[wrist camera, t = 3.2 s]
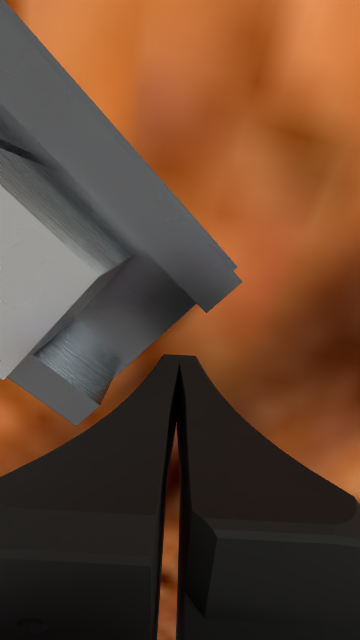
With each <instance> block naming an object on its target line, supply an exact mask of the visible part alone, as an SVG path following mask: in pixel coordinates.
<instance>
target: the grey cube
mask: <svg viewBox="0 0 360 640" xmlns="http://www.w3.org/2000/svg"><path fill="white" fill-rule="evenodd" d="M132 256H133V254H132V253H131V252H130V251H129V250H128V249H127V248H126V247H125V246H124V245H123V244H122V243H121V242H120V241H119V240H118V239H117V238H116V237H115V236H114V235H113V234H112V233H111V232H110V231H109V230H108V229H107V228H106V227H105V226H104V225H103V224H102V223H101V222H100V221H99V220H98V219H97V218H96V217H95V216H94V215H93V214H92V213H91V212H90V211H89V210H88V209H87V208H86V207H85V206H84V205H83V204H82V203H81V202H80V201H79V200H78V199H77V198H76V197H75V196H74V195H73V194H72V193H71V192H70V191H69V190H68V189H67V188H66V187H65V186H64V185H63V184H62V183H61V182H60V181H59V180H58V179H57V178H56V177H55V176H54V175H53V174H52V173H51V172H50V171H49V170H48V169H47V168H46V167H45V166H43V165H41V164H38V163H36V162H33V161H31V160H28V159H26V158H24V157H21V156H19V155H16V154H14V153H11V152H9V151H6V150H4V149H2V148H0V378H1V379H2V380H4V379H6V378H7V377H8V376H9V375H10V374H11V373H13V372H14V371H15V370H16V369H17V368H18V367H20V366H21V365H22V364H23V363H24V362H25V361H27V360H28V359H29V358H30V357H31V356H32V355H33V354H35V353H36V352H37V351H38V350H39V349H40V348H42V347H43V346H44V345H45V344H46V343H47V342H49V341H50V340H51V339H52V338H53V337H54V336H56V335H57V334H58V333H59V332H60V331H61V330H63V329H64V328H65V327H66V326H67V325H68V324H70V322H71V321H72V320H73V319H74V318H75V317H76V316H77V315H78V314H79V313H80V312H81V311H82V310H83V309H84V308H85V306H86V305H87V304H88V303H89V302H90V301H91V300H92V299H93V298H94V297H95V296H96V295H97V294H98V293H99V292H100V291H101V289H102V288H103V287H104V286H105V285H106V284H107V283H108V282H109V281H110V280H111V279H112V278H113V277H114V276H115V275H116V274H117V272H118V271H119V270H120V269H121V268H122V267H123V266H124V265H125V264H126V263H127V262H128V261H129V260H130V259H131V258H132Z"/></svg>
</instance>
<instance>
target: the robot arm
mask: <svg viewBox="0 0 360 640" xmlns="http://www.w3.org/2000/svg"><path fill="white" fill-rule="evenodd" d="M176 421H177V438H178V455H179V472H180V514H179V552H178V588H177V623H176V640H360V505H359V503H358V502H357V500H356V499H355V497H354V496H352V495H350V494H349V493H347V492H346V491H344V490H342V489H341V488H339V487H337V486H336V485H334V484H332V483H331V482H329V481H328V480H326V479H324V478H323V477H321V476H319V475H318V474H316V473H314V472H313V471H311V470H310V469H308V468H307V467H305V466H304V465H302V464H301V463H299V462H298V461H296V460H295V459H293V458H292V457H291V456H289V455H288V454H286V453H285V452H283V451H282V450H281V449H279V448H278V447H277V446H275V445H274V444H273V443H271V442H270V441H269V440H268V439H266V438H265V437H264V436H263V435H262V434H260V433H259V432H258V431H257V430H256V429H254V428H253V427H252V426H251V425H250V424H249V423H248V422H246V421H245V420H244V419H243V418H242V417H241V416H240V415H239V414H238V413H237V412H236V411H235V410H234V409H233V408H232V407H231V405H230V404H229V403H228V402H227V401H226V400H225V398H224V397H223V396H222V395H221V394H220V392H219V391H218V390H217V389H216V387H215V386H214V384H213V383H212V382H211V380H210V379H209V377H208V376H207V374H206V373H205V371H204V370H203V368H202V366H201V364H200V363H199V361H198V359H197V358H196V356H186V355H166V354H164V355H163V356H162V357H161V359H160V360H159V362H158V364H157V365H156V366H155V368H154V369H153V370H152V372H151V373H150V374H149V375H148V377H147V378H146V379H145V380H144V381H143V382H142V384H141V385H140V386H139V387H138V388H137V389H136V390H135V391H134V392H133V393H132V394H131V395H130V396H129V397H128V398H127V399H126V400H125V401H124V402H123V403H122V404H120V405H119V406H118V407H117V408H116V409H115V410H113V411H112V412H111V413H110V414H108V415H107V416H106V417H104V418H103V419H102V420H100V421H99V422H98V423H96V424H95V425H93V426H92V427H91V428H89V429H88V430H86V431H85V432H83V433H82V434H80V435H78V436H77V437H75V438H74V439H72V440H70V441H69V442H67V443H65V444H64V445H62V446H60V447H58V448H57V449H55V450H53V451H51V452H49V453H48V454H46V455H44V456H42V457H40V458H38V459H36V460H34V461H32V462H30V463H28V464H26V465H24V466H22V467H20V468H18V469H16V470H14V471H12V472H10V473H8V474H6V475H4V476H2V477H0V640H157V632H158V616H159V600H160V584H161V569H162V553H163V538H164V522H165V507H166V492H167V482H168V474H169V468H170V461H171V454H172V448H173V441H174V434H175V427H176Z"/></svg>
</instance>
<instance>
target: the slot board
mask: <svg viewBox="0 0 360 640" xmlns="http://www.w3.org/2000/svg"><path fill="white" fill-rule="evenodd" d="M0 122H1V123H2V124H3V125H4V126H5V127H6V128H7V129H8V130H9V131H10V132H11V133H12V134H13V135H14V136H15V137H16V138H17V139H18V140H19V141H20V142H21V143H22V144H23V145H24V146H25V147H26V148H27V149H28V150H29V151H30V152H31V153H32V154H31V156H30V157H29V159H28V160H31V161H33V162H36V163H38V164H41V165H43V166H45V167H46V168H47V169H48V170H49V171H50V172H51V173H52V174H53V175H54V176H55V177H56V178H57V179H58V180H59V181H60V182H61V183H62V184H63V185H64V186H65V187H66V188H67V189H68V190H69V191H70V192H71V193H72V194H73V195H74V196H75V197H76V198H77V199H78V200H79V201H80V202H81V203H82V204H83V205H84V206H85V207H86V208H87V209H88V210H89V211H90V212H91V213H92V214H93V215H94V216H95V217H96V218H97V219H98V220H99V221H100V222H101V223H102V224H103V225H104V226H105V227H106V228H107V229H108V230H109V231H110V232H111V233H112V234H113V235H114V236H115V237H116V238H117V239H118V240H119V241H120V242H121V243H122V244H123V245H124V246H125V247H126V248H127V249H128V250H129V251H130V252H131V253H132V254H133V256H132V258H131V259H130V260H129V261H128V262H127V263H126V264H125V265H124V266H123V267H122V268H121V269H120V270H119V271H118V272H117V274H116V275H115V276H114V277H113V278H112V279H111V280H110V281H109V282H108V283H107V284H106V285H105V286H104V287H103V288H102V289H101V291H100V292H99V293H98V294H97V295H96V296H95V297H94V298H93V299H92V300H91V301H90V302H89V303H88V304H87V305H86V306H85V308H84V309H83V310H82V311H81V312H80V313H79V314H78V315H77V316H76V317H75V318H74V319H73V320H72V321H71V322H70V324H68V325H67V326H66V327H65V328H64V329H63V330H61V331H60V332H59V333H58V334H57V335H56V336H54V337H53V338H52V339H51V340H50V341H49V342H47V343H46V344H45V345H44V346H43V347H42V348H40V349H39V350H38V351H37V352H36V353H35V354H33V355H32V356H31V357H30V358H29V359H28V360H27V361H25V362H24V363H23V364H22V365H21V366H20V367H18V368H17V369H16V370H15V371H14V372H13V373H11V374H10V375H9V376H8V378H9V379H11V380H12V381H13V382H15V383H16V384H18V385H19V386H20V387H22V388H23V389H25V390H26V391H27V392H29V393H30V394H32V395H33V396H35V397H36V398H37V399H39V400H40V401H42V402H43V403H44V404H46V405H47V406H49V407H50V408H51V409H53V410H54V411H56V412H57V413H58V414H60V415H61V416H63V417H64V418H65V419H67V420H68V421H70V422H71V423H72V424H74V425H75V426H77V425H78V424H80V423H81V422H82V421H83V420H84V419H85V418H86V417H88V416H89V415H90V414H91V413H92V412H93V411H94V410H96V409H97V408H98V407H99V406H100V405H101V402H102V400H103V398H104V396H105V394H106V392H107V390H108V388H109V385H110V383H111V381H112V379H113V378H114V377H115V376H116V375H117V374H118V373H119V372H121V371H122V370H123V369H124V368H125V367H126V366H127V365H128V364H130V363H131V362H132V361H133V360H134V359H135V358H136V357H137V356H138V355H140V354H141V353H142V352H143V351H144V350H145V349H146V348H147V347H148V346H150V345H151V344H152V343H153V342H154V341H155V340H156V339H157V338H159V337H160V336H161V335H162V334H163V333H164V332H165V331H166V330H167V329H169V328H170V327H171V326H172V325H173V324H174V323H175V322H176V321H177V320H179V319H180V318H181V317H182V316H183V315H184V314H185V313H186V312H188V311H189V310H190V309H191V308H192V307H193V306H194V305H195V304H196V303H197V304H198V305H199V306H200V307H201V308H202V309H203V310H204V311H205V312H206V313H207V312H208V311H209V310H211V309H212V308H213V307H214V306H215V305H216V304H218V303H219V302H220V301H221V300H222V299H223V298H224V297H226V296H227V295H228V294H229V293H230V292H231V291H232V290H234V289H235V288H236V287H237V286H238V285H239V284H241V283H242V281H241V280H240V279H239V277H238V276H237V275H236V274H235V273H234V272H233V270H234V269H236V268H237V266H236V265H235V264H234V262H233V261H232V260H231V259H230V258H229V257H228V256H227V254H226V253H225V252H224V251H223V250H222V249H221V248H220V246H219V245H218V244H217V243H216V242H215V241H214V240H213V238H212V237H211V236H210V235H209V234H208V233H207V232H206V230H205V229H204V228H203V227H202V226H201V225H200V224H199V222H198V221H197V220H196V219H195V218H194V217H193V216H192V214H191V213H190V212H189V211H188V210H187V209H186V208H185V206H184V205H183V204H182V203H181V202H180V201H179V200H178V198H177V197H176V196H175V195H174V194H173V193H172V192H171V190H170V189H169V188H168V187H167V186H166V185H165V184H164V182H163V181H162V180H161V179H160V178H159V177H158V176H157V174H156V173H155V172H154V171H153V170H152V169H151V168H150V166H149V165H148V164H147V163H146V162H145V161H144V160H143V158H142V157H141V156H140V155H139V154H138V153H137V152H136V150H135V149H134V148H133V147H132V146H131V145H130V144H129V142H128V141H127V140H126V139H125V138H124V137H123V136H122V134H121V133H120V132H119V131H118V130H117V129H116V128H115V126H114V125H113V124H112V123H111V122H110V121H109V120H108V118H107V117H106V116H105V115H104V114H103V113H102V112H101V110H100V109H99V108H98V107H97V106H96V105H95V104H94V102H93V101H92V100H91V99H90V98H89V97H88V96H87V94H86V93H85V92H84V91H83V90H82V89H81V88H80V86H79V85H78V84H77V83H76V82H75V81H74V80H73V78H72V77H71V76H70V75H69V74H68V73H67V72H66V70H65V69H64V68H63V67H62V66H61V65H60V64H59V62H58V61H57V60H56V59H55V58H54V57H53V56H52V54H51V53H50V52H49V51H48V50H47V49H46V48H45V46H44V45H43V44H42V43H41V42H40V41H39V40H38V38H37V37H36V36H35V35H34V34H33V33H32V32H31V30H30V29H29V28H28V27H27V26H26V25H25V24H24V22H23V21H22V20H21V19H20V18H19V17H18V16H17V14H16V13H15V12H14V11H13V10H12V9H11V8H10V6H9V5H8V4H7V3H6V2H5V1H4V0H0Z"/></svg>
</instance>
